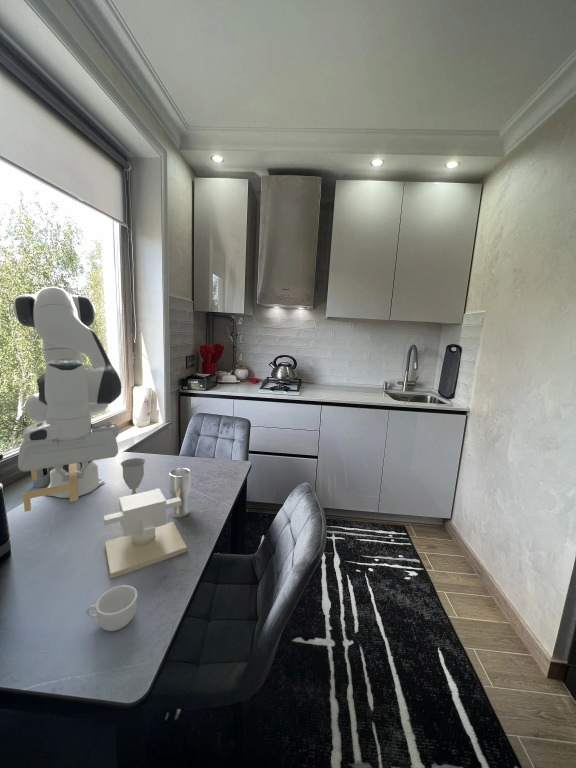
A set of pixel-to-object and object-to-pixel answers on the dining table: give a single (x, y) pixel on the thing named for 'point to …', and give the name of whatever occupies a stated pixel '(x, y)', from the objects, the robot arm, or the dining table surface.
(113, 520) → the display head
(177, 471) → the beer glass
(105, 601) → the teacup
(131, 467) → the chalice
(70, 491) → the tan open angular frame
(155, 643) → the dining table surface
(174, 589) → the dining table surface
